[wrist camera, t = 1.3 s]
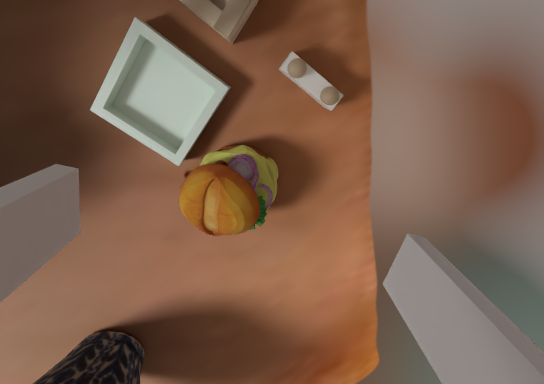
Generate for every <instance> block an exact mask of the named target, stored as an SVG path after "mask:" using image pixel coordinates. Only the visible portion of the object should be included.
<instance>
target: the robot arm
mask: <svg viewBox="0 0 544 384" xmlns="http://www.w3.org/2000/svg"><path fill="white" fill-rule="evenodd" d="M79 234H80V201H79V168H74V167H69V166H64V165H59V164H54V165H52V166H50V167H47V168H45V169H43V170H40V171H38V172H36V173H33V174H31V175H29V176H26V177H24V178H21V179H19V180H17V181H14V182H12V183H10V184H7V185H5V186H3V187H0V302H1V301H3V300H4V299H5V298H6V297H7V296H8V295H9V294H11V293H12V292H13V291H14V290H15V289H16V288H18V287H19V286H20V285H21V284H22V283H23V282H24V281H26V280H27V279H28V278H29V277H30V276H31V275H32V274H34V273H35V272H36V271H37V270H38V269H39V268H41V267H42V266H43V265H44V264H45V263H46V262H47V261H49V260H50V259H51V258H52V257H53V256H54V255H55V254H57V253H58V252H59V251H60V250H61V249H62V248H64V247H65V246H66V245H67V244H68V243H69V242H70V241H72V240H73V239H74V238H75V237H76V236H77V235H79ZM383 285H384V287H385V289H386V290H387V292H388V294H389V296H390V297H391V299H392V300H393V302H394V304H395V306H396V307H397V309H398V310H399V312H400V314H401V316H402V317H403V319H404V321H405V322H406V324H407V326H408V327H409V329H410V331H411V332H412V334H413V336H414V337H415V339H416V341H417V342H418V344H419V346H420V347H421V349H422V351H423V352H424V354H425V356H426V358H427V359H428V361H429V362H430V364H431V366H432V368H433V369H434V371H435V373H436V374H437V376H438V378H439V379H440V381H441V383H442V384H544V353H543V352H542V351H541V350H540V349H539V348H538V347H537V346H536V345H535V344H534V343H533V342H532V341H531V340H530V339H529V338H528V337H527V336H526V335H525V334H523V332H522V331H520V330H519V329H518V328H517V327H516V326H515V325H514V324H513V323H512V322H511V321H510V320H509V319H508V318H507V317H506V316H505V315H504V314H503V313H502V312H501V311H500V310H499V309H498V308H497V307H496V306H494V304H493V303H491V302H490V301H489V300H488V299H487V298H486V297H485V296H484V295H483V294H482V293H481V292H480V291H479V290H478V289H477V288H476V287H475V286H474V285H473V284H472V283H471V282H470V281H469V280H468V279H467V278H466V277H465V276H464V275H463V274H462V273H461V272H460V271H459V270H457V269H456V268H455V267H454V266H453V265H452V264H451V263H450V262H449V261H448V260H447V259H446V258H445V257H444V256H443V255H442V254H441V253H440V252H439V251H438V250H437V249H436V248H435V247H434V246H433V245H431V243H430V242H429V241H428V240H426V239H425V238H424V237H422V236H417V235H412V234H407V236H406V238H405V240H404V242H403V244H402V246H401V248H400V250H399V252H398V254H397V256H396V258H395V260H394V262H393V264H392V266H391V268H390V270H389V272H388V274H387V276H386V278H385V280H384V282H383Z"/></svg>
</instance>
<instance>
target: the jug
mask: <svg viewBox="0 0 544 384" xmlns="http://www.w3.org/2000/svg"><path fill="white" fill-rule="evenodd" d="M143 359H144V349H143V348H142V346H141V344H140V343H139V342H138V341H137V340H136V339H134V338H133V337H132V336H129V335H127V334H125V333H121V332H110V331H108V332H99V333H95V334H91V335H89V336H88V337H86V338H85V339H84V340H83V341H82V342H81V343H80V344H78V345H77V346H76V347H75V348H74V349H73V350H72V351H71V352H70V353H69V354H68V355H67V356H66V357H65V358H64V359H63V360H62V361H60V362H59V363H58V364H57V365H55V366H54V367H53V368H52V369H51V370H49V371H48V372H47V373H46V374H45V375H43V376H42V377H41V378H40V379H38V380H37V381H36V382H34V383H33V384H140V373H141V369H142V364H143Z"/></svg>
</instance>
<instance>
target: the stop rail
mask: <svg viewBox="0 0 544 384" xmlns="http://www.w3.org/2000/svg"><path fill="white" fill-rule="evenodd" d="M278 70H280V71H281V72H282V73H283V74H284V75H286V76H287V77H288V78H289V79H291V80H292V81H293V82H294V83H295V84H297V85H298V86H299V87H300V88H301V89H303V90H304V91H305V92H306V93H307V94H309V95H310V96H311V97H312V98H314V99H315V100H316V101H317V102H318V103H320V104H321V105H322V106H323V107H324V108H326V109H328V110H330V111H332V110H333V108H334V107H335V106H336V105H337V103H338V102H339V101H340V100H341V98H342V97H343V96H344V95H343V94H342V93H340V92H339V91H338V90H337V89H336V88H335V87H334V86H332V85H331V84H330V83H329V82H328V81H327V80H325V79H324V78H323V77H322V76H321V75H320V74H318V73H317V72H316V71H315V70H314V69H313V68H311V67H310V66H309V65H308V64H307V63H306V62H305V61H304V60H303V59H301V58H300V57H299V56H298V55H296V54H295V53H294V52H293V51H292V52H291V53H289V55H288V56H287V58H286V59H285V61H284V62H283V64H282V65H281V67H280V68H279V69H278Z"/></svg>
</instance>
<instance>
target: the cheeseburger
mask: <svg viewBox="0 0 544 384" xmlns="http://www.w3.org/2000/svg"><path fill="white" fill-rule="evenodd" d="M267 158H268V159H267ZM278 175H279V173H278V167H277V165H276V163H275V162H274V160H273V159H271V158H269V157H266V156H265V155H264V154H262V153H261V152H259V151H258V150H256V149H255V148H252V147H248V146H246V145H233V146H226V147H222V148H221V149H219V150H218V151H215V152H209V153H208V154H207V155H205V156H204V158H203V161H202V163H201V164H200V165H199V166H198V167H197V168H195V169H189V170H186V171H185V172H184V177H185V178H186V180H185V181H184V183H183V185H182V186H181V190H180V195H179V204H180V209H181V211H182V212H183V214H184V216H185V217H186V218H187V219H188V220H189V221H190V222H191V223H192V224H193V225H194V226H195V227H197V228H198V229H199V230H201V231H203V232H204V233H206V234H209V235H213V236H219V235H232V234H240V233H243V232H245V231H247V230H250V229H255V224H257V225H259V226H261V225H262V224H263V223H264V222H265V219H264V217H265V216H266V215H267V213H266V212H267V211H268V209H269V207H270V205H271V204H272V203H273V201H274V200H275V197H276V194H277V181H276V180H277V179H278Z"/></svg>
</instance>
